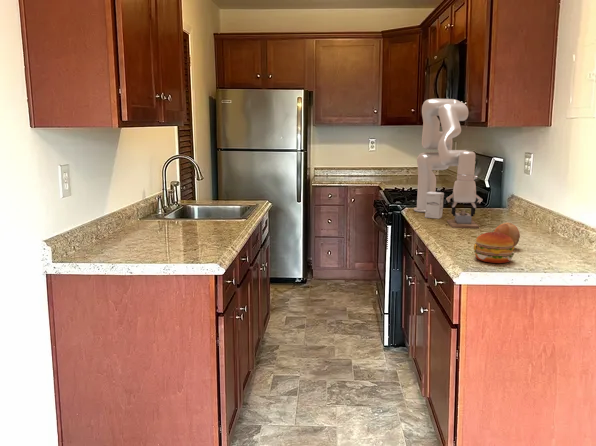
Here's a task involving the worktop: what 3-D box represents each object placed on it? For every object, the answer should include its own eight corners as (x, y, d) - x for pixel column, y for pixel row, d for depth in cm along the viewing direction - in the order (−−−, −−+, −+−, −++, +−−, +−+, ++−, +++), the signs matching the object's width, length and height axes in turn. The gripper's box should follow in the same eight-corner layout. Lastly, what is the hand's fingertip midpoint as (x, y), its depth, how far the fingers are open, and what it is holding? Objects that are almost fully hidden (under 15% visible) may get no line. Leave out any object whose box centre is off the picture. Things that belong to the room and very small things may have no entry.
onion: (496, 244, 217) (498, 219, 216) (522, 248, 211) (524, 222, 209) (487, 248, 210) (489, 222, 208) (514, 252, 204) (516, 226, 202)
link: (454, 221, 263) (454, 212, 262) (468, 221, 262) (468, 213, 261) (456, 224, 255) (457, 215, 254) (471, 224, 254) (471, 215, 253)
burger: (498, 267, 183) (500, 238, 181) (464, 259, 194) (466, 231, 192) (521, 261, 191) (523, 233, 189) (487, 254, 201) (489, 227, 200)
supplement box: (424, 217, 277) (425, 192, 274) (428, 215, 283) (429, 191, 281) (439, 219, 273) (440, 193, 271) (442, 216, 280) (444, 192, 277)
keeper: (446, 221, 267) (447, 208, 266) (472, 222, 265) (473, 208, 264) (451, 227, 251) (452, 213, 250) (479, 228, 250) (480, 214, 249)
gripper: (483, 177, 257) (480, 215, 260) (445, 177, 259) (442, 213, 262) (486, 179, 250) (483, 217, 253) (447, 178, 252) (445, 216, 255)
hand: (463, 215), depth 258 cm, fingers open, 7 cm apart
